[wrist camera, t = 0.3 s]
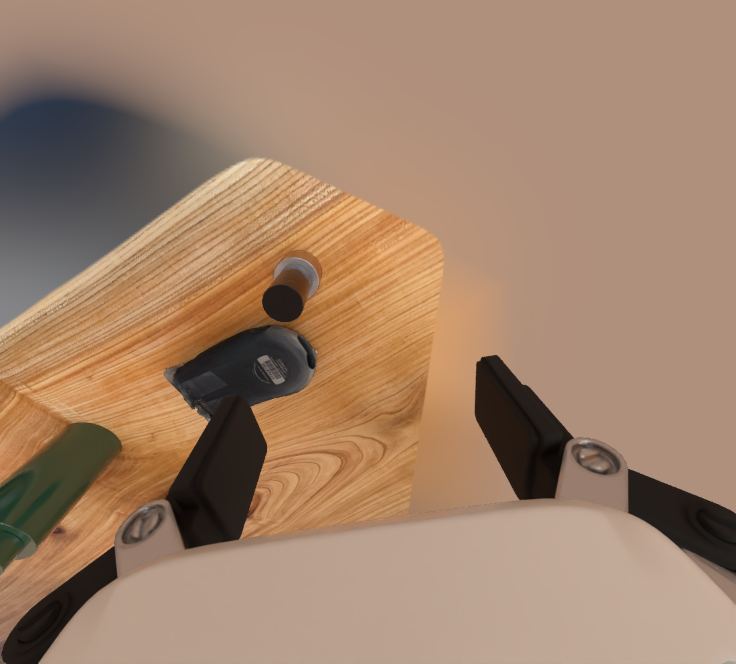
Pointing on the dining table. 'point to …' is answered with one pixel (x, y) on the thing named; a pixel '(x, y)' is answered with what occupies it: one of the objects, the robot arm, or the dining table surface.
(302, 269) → the torch
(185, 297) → the dining table surface
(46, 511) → the bottle
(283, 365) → the electronic device
